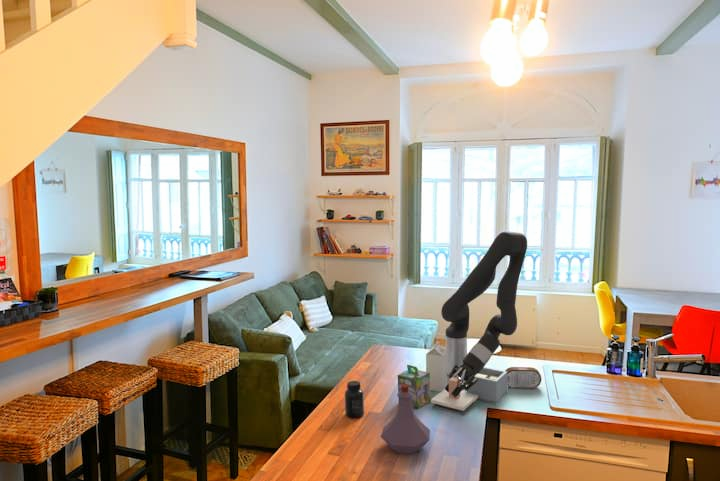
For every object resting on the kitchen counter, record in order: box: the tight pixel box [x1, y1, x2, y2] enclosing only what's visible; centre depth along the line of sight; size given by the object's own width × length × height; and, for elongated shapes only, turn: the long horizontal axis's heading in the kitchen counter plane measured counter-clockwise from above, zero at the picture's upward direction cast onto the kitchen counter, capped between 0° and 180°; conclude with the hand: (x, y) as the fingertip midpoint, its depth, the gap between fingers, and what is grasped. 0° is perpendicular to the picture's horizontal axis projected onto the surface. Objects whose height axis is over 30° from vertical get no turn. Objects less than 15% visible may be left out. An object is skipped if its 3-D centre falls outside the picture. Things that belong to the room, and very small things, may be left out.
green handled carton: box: [397, 364, 431, 410], centre depth 186 cm, size 9×9×15 cm
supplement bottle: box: [344, 380, 365, 419], centre depth 176 cm, size 7×7×12 cm
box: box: [466, 366, 508, 405], centre depth 190 cm, size 12×12×9 cm
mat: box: [432, 400, 477, 416], centre depth 183 cm, size 12×12×1 cm
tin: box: [504, 366, 542, 390], centre depth 197 cm, size 15×3×8 cm, turn 84°
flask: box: [380, 384, 431, 455], centre depth 153 cm, size 16×16×20 cm
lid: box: [430, 377, 478, 411], centre depth 182 cm, size 13×13×8 cm
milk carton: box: [425, 340, 448, 393], centre depth 198 cm, size 7×7×19 cm
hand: (450, 393), depth 182 cm, fingers closed on lid, 4 cm apart
